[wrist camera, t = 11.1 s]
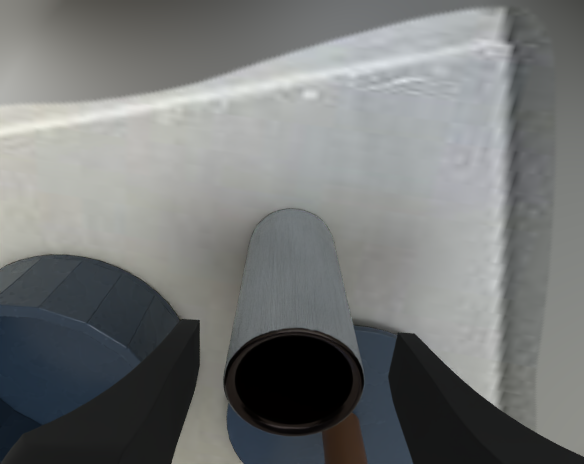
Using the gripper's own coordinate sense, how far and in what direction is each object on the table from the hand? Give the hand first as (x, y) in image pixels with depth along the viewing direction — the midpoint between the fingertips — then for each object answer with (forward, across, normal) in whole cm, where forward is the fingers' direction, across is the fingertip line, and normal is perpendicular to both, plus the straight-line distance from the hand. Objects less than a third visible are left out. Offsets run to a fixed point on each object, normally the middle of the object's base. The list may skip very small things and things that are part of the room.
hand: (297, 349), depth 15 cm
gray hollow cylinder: (+8, 0, 0) cm, 9 cm away
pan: (+8, +12, +8) cm, 17 cm away
